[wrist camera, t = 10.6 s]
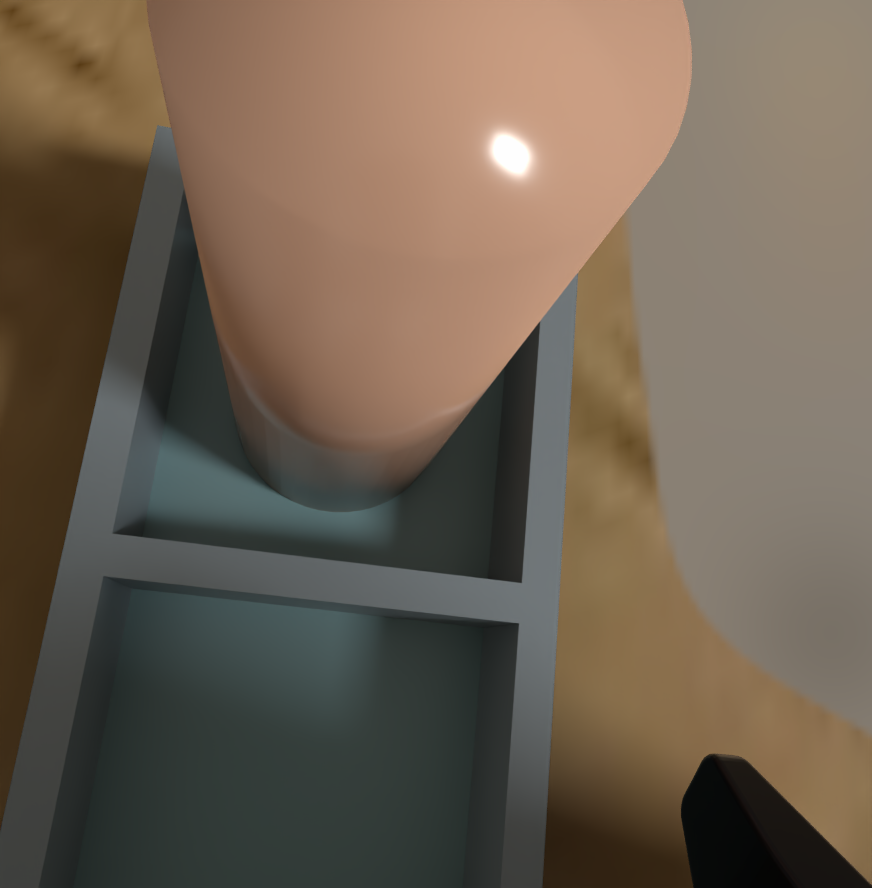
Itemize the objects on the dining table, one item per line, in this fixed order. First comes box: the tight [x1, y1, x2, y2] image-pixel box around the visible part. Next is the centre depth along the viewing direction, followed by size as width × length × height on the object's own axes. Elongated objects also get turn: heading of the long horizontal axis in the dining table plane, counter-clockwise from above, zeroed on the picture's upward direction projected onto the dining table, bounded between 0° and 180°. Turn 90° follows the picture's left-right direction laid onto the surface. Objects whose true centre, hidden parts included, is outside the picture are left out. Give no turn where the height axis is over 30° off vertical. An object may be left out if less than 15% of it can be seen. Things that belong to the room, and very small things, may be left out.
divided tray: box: [0, 125, 578, 888], centre depth 17 cm, size 18×10×4 cm, turn 174°
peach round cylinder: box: [147, 0, 692, 512], centre depth 14 cm, size 5×5×13 cm
